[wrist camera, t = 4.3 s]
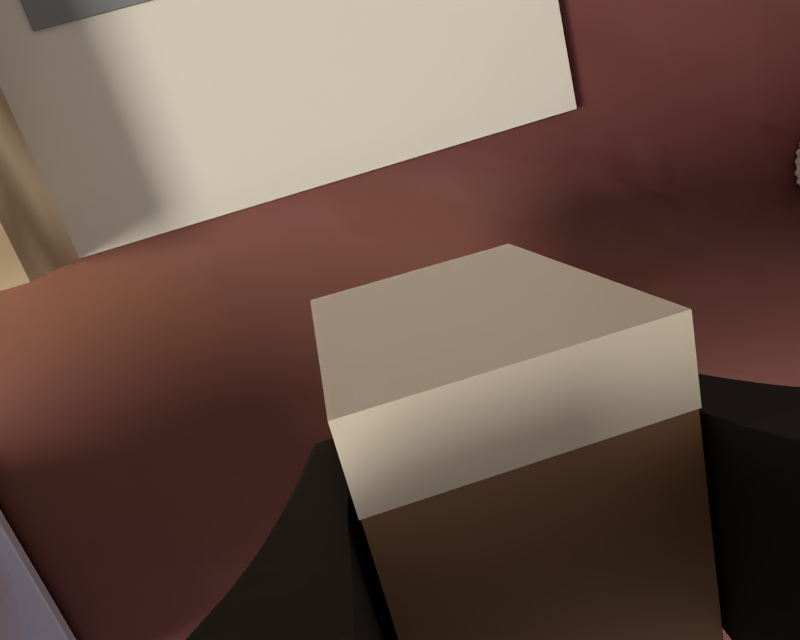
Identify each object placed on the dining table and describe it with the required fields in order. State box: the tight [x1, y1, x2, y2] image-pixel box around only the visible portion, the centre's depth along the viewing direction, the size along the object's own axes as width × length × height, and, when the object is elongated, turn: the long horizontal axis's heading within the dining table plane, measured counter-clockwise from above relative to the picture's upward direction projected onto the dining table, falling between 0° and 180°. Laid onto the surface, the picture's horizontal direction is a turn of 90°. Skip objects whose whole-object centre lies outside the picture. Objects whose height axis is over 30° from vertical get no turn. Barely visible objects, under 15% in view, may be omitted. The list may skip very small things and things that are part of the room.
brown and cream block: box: [310, 244, 723, 640], centre depth 10 cm, size 6×4×6 cm, turn 14°
